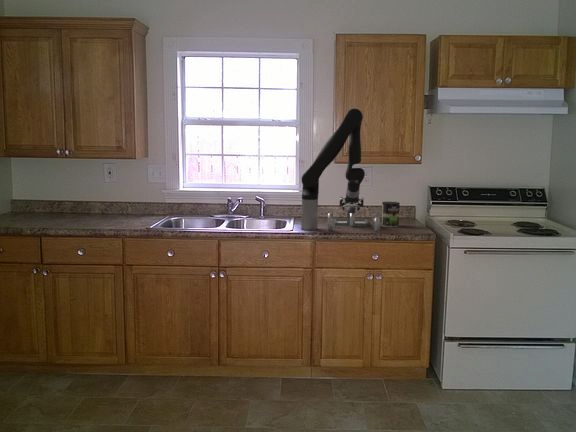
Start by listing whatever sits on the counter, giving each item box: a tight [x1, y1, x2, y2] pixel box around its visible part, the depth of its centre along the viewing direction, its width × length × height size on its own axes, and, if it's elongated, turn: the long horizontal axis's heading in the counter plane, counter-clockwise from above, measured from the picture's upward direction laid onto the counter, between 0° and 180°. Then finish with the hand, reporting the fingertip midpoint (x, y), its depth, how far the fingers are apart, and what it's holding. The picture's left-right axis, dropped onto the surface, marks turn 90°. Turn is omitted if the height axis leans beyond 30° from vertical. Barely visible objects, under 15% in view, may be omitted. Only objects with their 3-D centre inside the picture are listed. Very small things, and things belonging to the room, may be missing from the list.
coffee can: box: [381, 201, 400, 228], centre depth 327 cm, size 10×10×14 cm
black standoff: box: [346, 205, 357, 223], centre depth 334 cm, size 5×5×10 cm
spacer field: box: [327, 212, 381, 233], centre depth 315 cm, size 29×18×8 cm, turn 87°
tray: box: [333, 218, 370, 227], centre depth 335 cm, size 20×18×2 cm
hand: (350, 209), depth 332 cm, fingers open, 8 cm apart
